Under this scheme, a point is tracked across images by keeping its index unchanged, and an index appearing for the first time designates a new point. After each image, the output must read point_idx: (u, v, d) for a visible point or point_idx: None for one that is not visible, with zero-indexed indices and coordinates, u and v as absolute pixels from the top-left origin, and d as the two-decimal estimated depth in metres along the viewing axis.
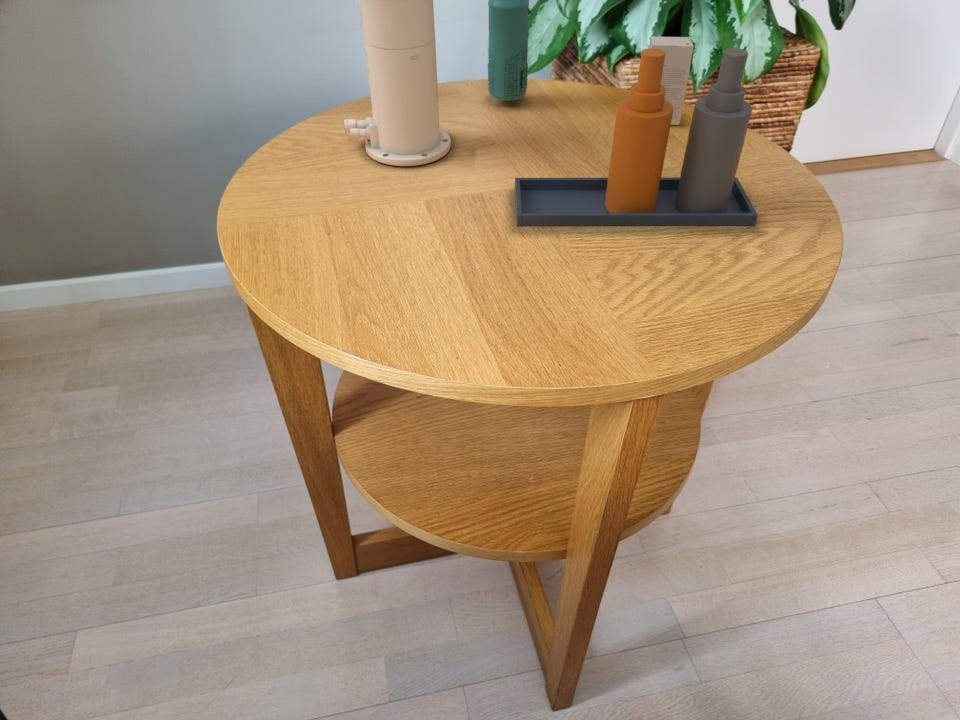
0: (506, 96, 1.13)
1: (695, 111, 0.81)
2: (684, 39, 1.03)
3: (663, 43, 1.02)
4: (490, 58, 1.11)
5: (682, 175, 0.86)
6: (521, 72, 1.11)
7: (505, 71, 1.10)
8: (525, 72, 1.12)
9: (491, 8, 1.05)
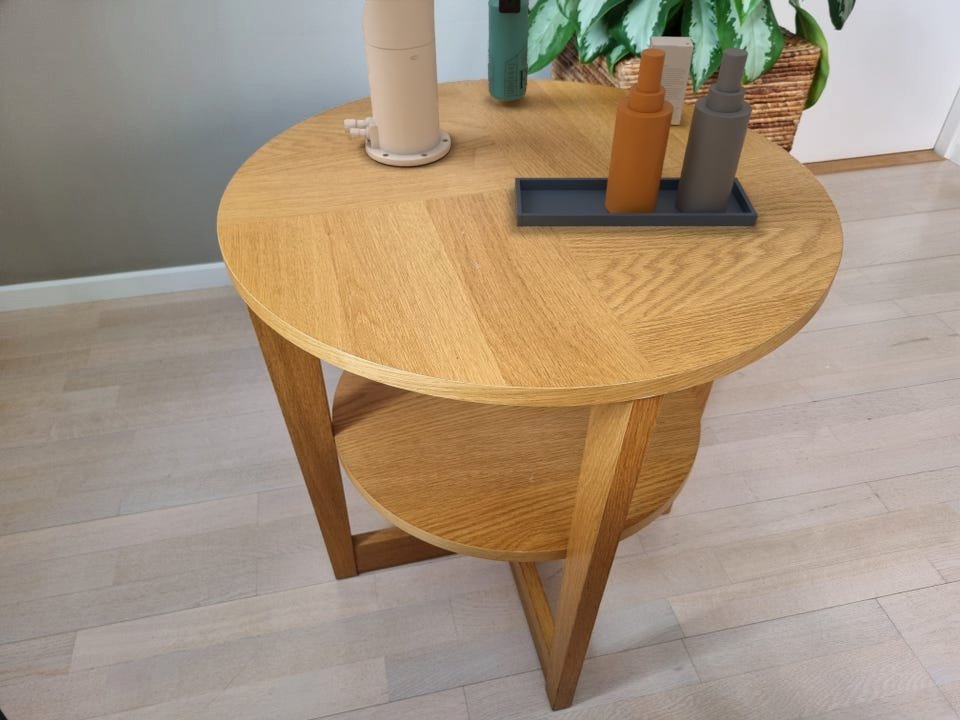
0: (506, 96, 1.13)
1: (695, 111, 0.81)
2: (684, 39, 1.03)
3: (663, 43, 1.02)
4: (490, 58, 1.11)
5: (682, 175, 0.86)
6: (521, 72, 1.11)
7: (505, 71, 1.10)
8: (525, 72, 1.12)
9: (491, 8, 1.05)
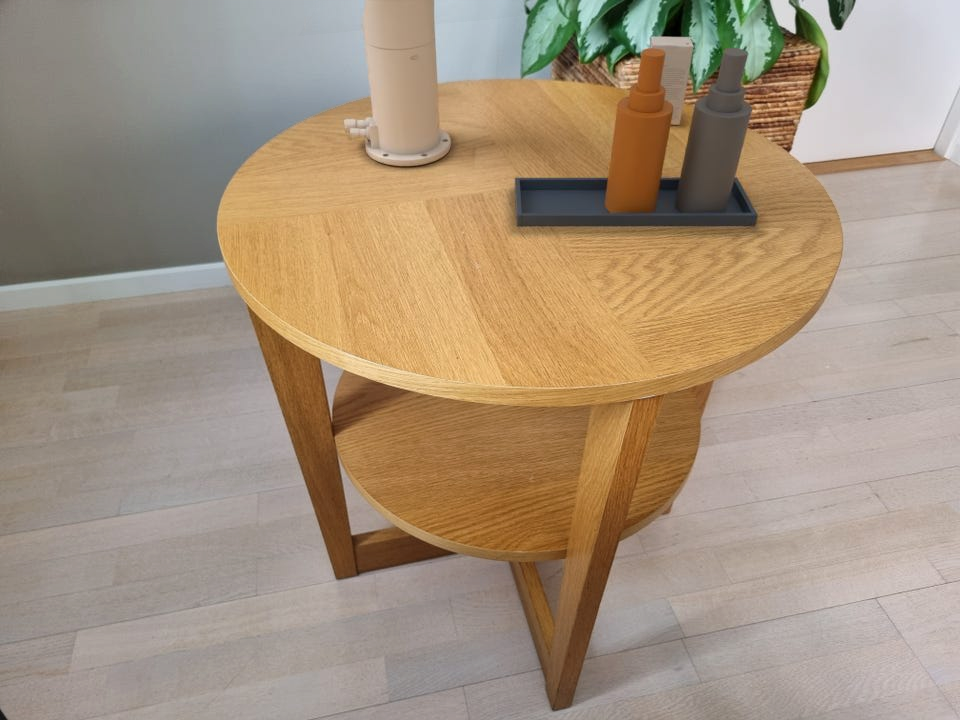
0: None
1: (695, 111, 0.81)
2: (684, 39, 1.03)
3: (663, 43, 1.02)
4: None
5: (682, 175, 0.86)
6: None
7: None
8: None
9: None
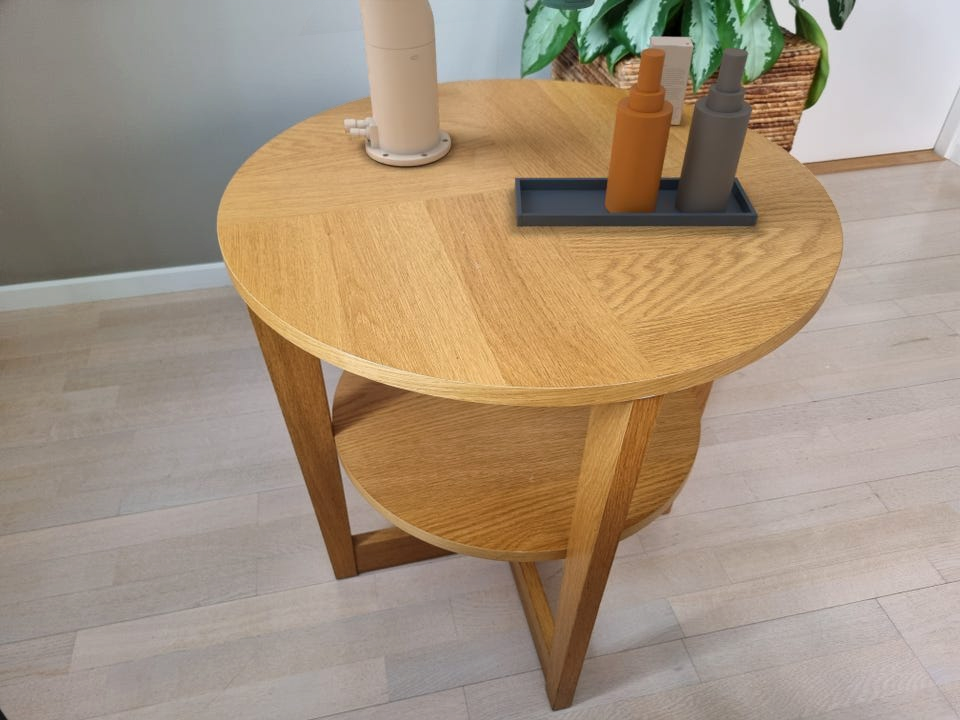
0: (567, 3, 0.74)
1: (695, 111, 0.81)
2: (684, 39, 1.03)
3: (663, 43, 1.02)
4: None
5: (682, 175, 0.86)
6: None
7: None
8: None
9: None
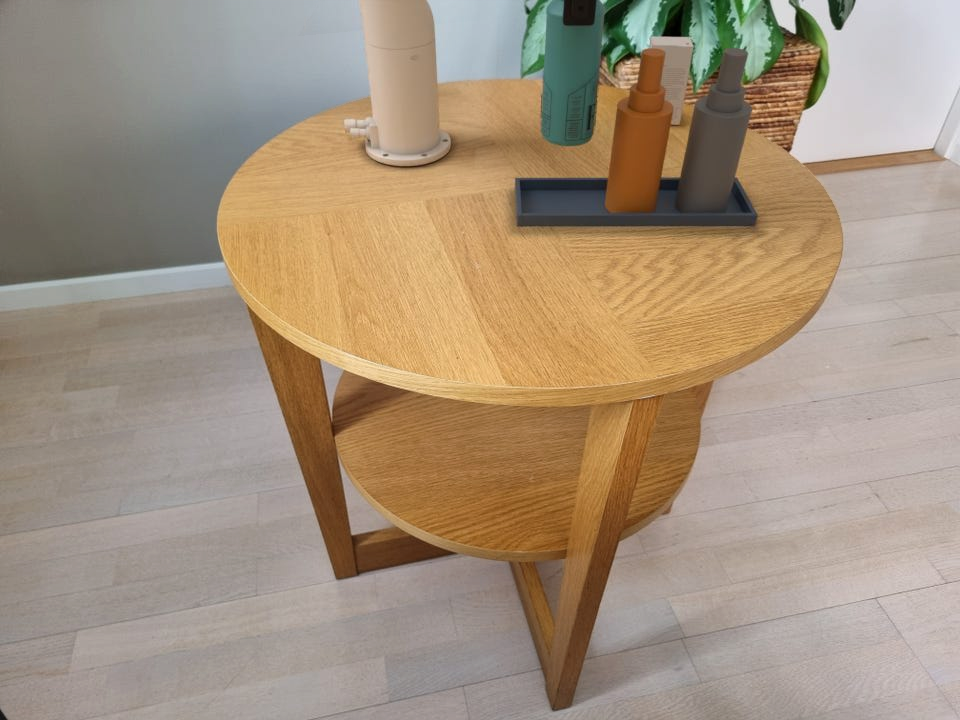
0: (567, 141, 0.80)
1: (695, 111, 0.81)
2: (684, 39, 1.03)
3: (663, 43, 1.02)
4: (546, 88, 0.78)
5: (682, 175, 0.86)
6: (590, 108, 0.78)
7: (567, 106, 0.78)
8: (594, 107, 0.79)
9: (552, 18, 0.73)
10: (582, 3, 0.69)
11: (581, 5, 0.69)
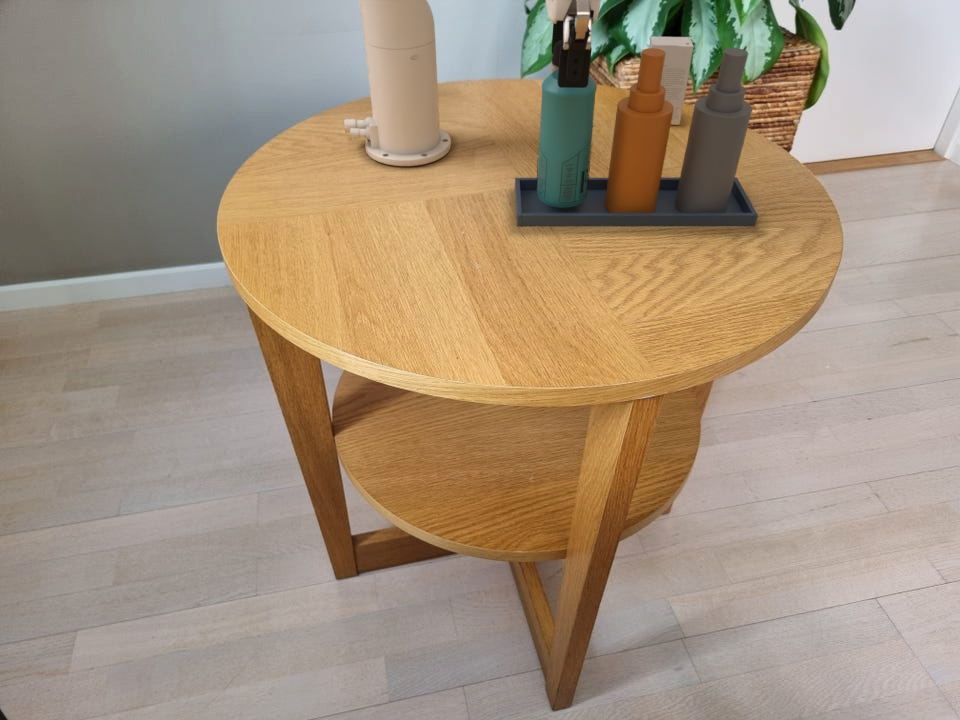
0: (561, 203, 0.86)
1: (695, 111, 0.81)
2: (684, 39, 1.03)
3: (663, 43, 1.02)
4: (542, 155, 0.83)
5: (682, 175, 0.86)
6: (582, 173, 0.84)
7: (562, 173, 0.83)
8: None
9: (546, 94, 0.78)
10: (576, 68, 0.72)
11: (575, 70, 0.72)
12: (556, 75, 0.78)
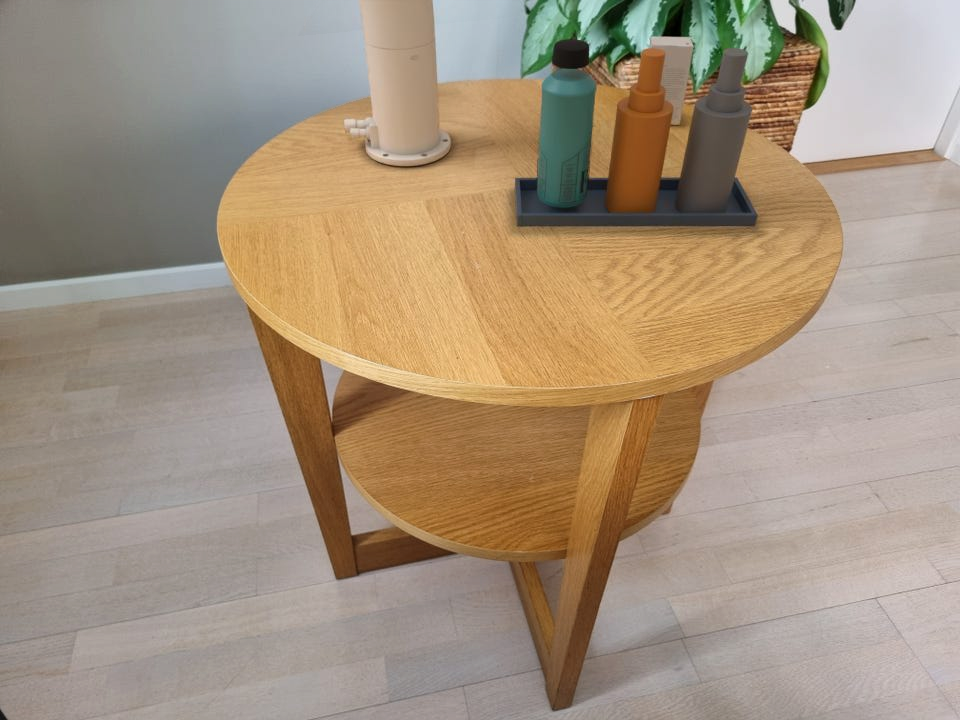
0: (561, 203, 0.86)
1: (695, 111, 0.81)
2: (684, 39, 1.03)
3: (663, 43, 1.02)
4: (542, 155, 0.83)
5: (682, 175, 0.86)
6: (582, 173, 0.84)
7: (562, 173, 0.83)
8: None
9: (546, 94, 0.78)
10: None
11: None
12: (556, 75, 0.78)
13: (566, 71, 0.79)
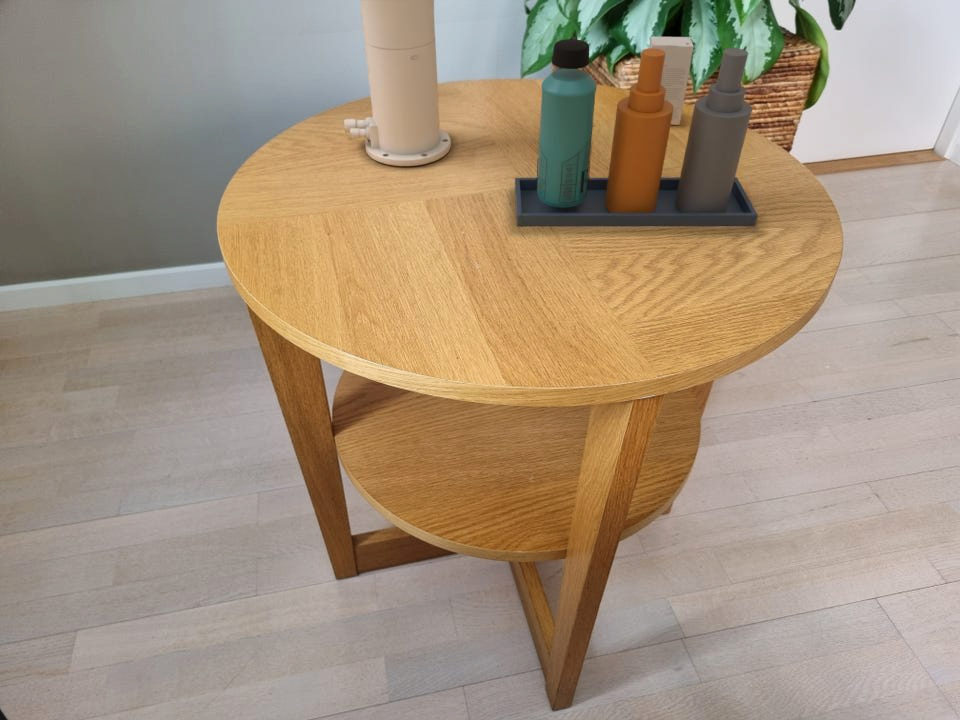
0: (561, 203, 0.86)
1: (695, 111, 0.81)
2: (684, 39, 1.03)
3: (663, 43, 1.02)
4: (542, 155, 0.83)
5: (682, 175, 0.86)
6: (582, 173, 0.84)
7: (562, 173, 0.83)
8: None
9: (546, 94, 0.78)
10: None
11: None
12: (556, 75, 0.78)
13: (566, 71, 0.79)
